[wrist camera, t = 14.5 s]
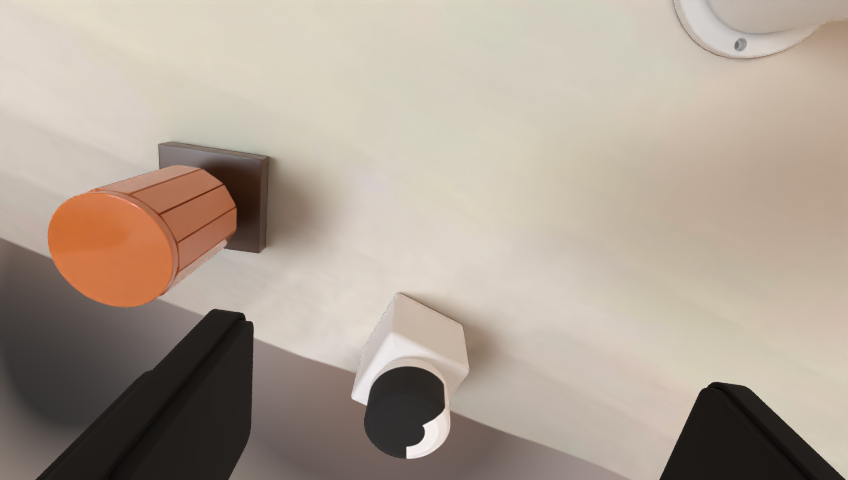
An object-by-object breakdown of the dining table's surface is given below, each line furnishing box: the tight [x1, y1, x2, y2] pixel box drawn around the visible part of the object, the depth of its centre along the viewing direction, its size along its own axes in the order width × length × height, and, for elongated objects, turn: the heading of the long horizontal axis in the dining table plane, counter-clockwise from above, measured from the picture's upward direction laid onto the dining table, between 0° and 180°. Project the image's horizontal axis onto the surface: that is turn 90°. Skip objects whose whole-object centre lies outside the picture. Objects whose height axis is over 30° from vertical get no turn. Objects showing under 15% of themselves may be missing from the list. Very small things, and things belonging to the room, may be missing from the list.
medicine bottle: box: [351, 293, 469, 459], centre depth 35 cm, size 7×7×12 cm
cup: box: [48, 165, 237, 307], centre depth 28 cm, size 7×7×8 cm
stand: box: [158, 142, 268, 253], centre depth 30 cm, size 8×8×13 cm
